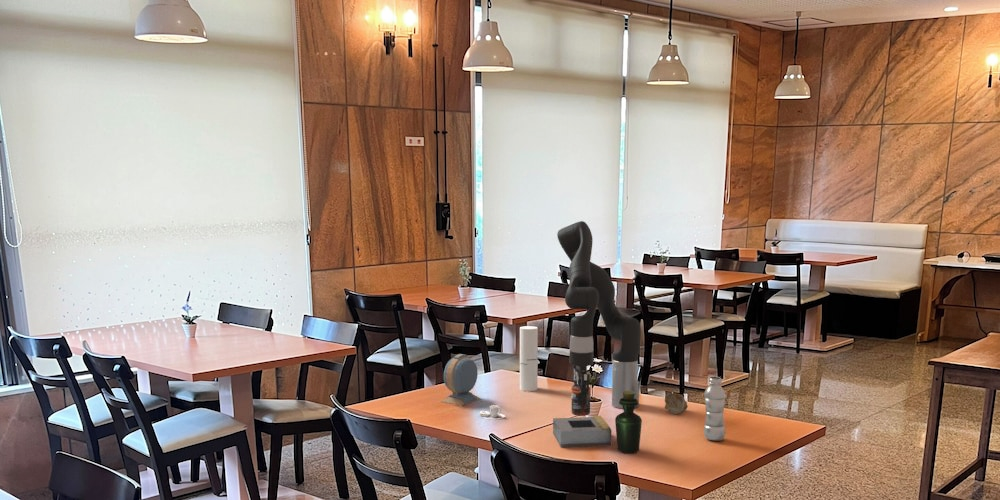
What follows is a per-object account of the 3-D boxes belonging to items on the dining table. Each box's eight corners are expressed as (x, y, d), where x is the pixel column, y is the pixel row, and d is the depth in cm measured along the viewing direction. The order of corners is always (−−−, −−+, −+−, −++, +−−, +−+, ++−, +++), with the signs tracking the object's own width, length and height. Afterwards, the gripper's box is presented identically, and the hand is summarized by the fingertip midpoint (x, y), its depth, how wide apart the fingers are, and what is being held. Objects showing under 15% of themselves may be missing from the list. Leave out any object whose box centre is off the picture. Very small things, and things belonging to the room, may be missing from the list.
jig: (600, 431, 253) (601, 415, 253) (611, 445, 239) (611, 427, 239) (553, 433, 252) (553, 416, 251) (560, 447, 238) (560, 429, 237)
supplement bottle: (591, 412, 247) (592, 377, 246) (587, 417, 241) (588, 381, 241) (573, 410, 249) (574, 376, 248) (569, 415, 243) (569, 380, 243)
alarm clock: (462, 394, 301) (462, 349, 300) (482, 398, 296) (482, 352, 294) (438, 402, 290) (438, 356, 288) (459, 406, 284) (458, 359, 283)
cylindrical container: (537, 391, 306) (537, 329, 304) (519, 391, 306) (519, 329, 304) (537, 386, 313) (537, 326, 311) (519, 386, 313) (519, 326, 311)
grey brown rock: (660, 415, 275) (681, 417, 270) (658, 395, 275) (679, 397, 270) (671, 408, 282) (691, 409, 278) (669, 389, 282) (690, 390, 277)
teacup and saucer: (476, 417, 271) (476, 406, 271) (491, 412, 277) (491, 401, 277) (494, 422, 266) (494, 410, 265) (509, 417, 271) (509, 406, 271)
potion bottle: (624, 456, 230) (624, 397, 228) (609, 448, 237) (610, 390, 236) (647, 452, 233) (647, 394, 232) (632, 444, 240) (632, 388, 239)
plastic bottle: (721, 444, 240) (723, 381, 239) (700, 440, 244) (701, 378, 243) (727, 438, 246) (729, 377, 244) (706, 435, 249) (707, 374, 248)
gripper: (598, 353, 237) (597, 407, 238) (588, 344, 251) (587, 395, 252) (574, 354, 236) (573, 407, 237) (565, 345, 251) (565, 395, 252)
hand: (580, 401), depth 245 cm, fingers closed on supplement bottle, 6 cm apart
